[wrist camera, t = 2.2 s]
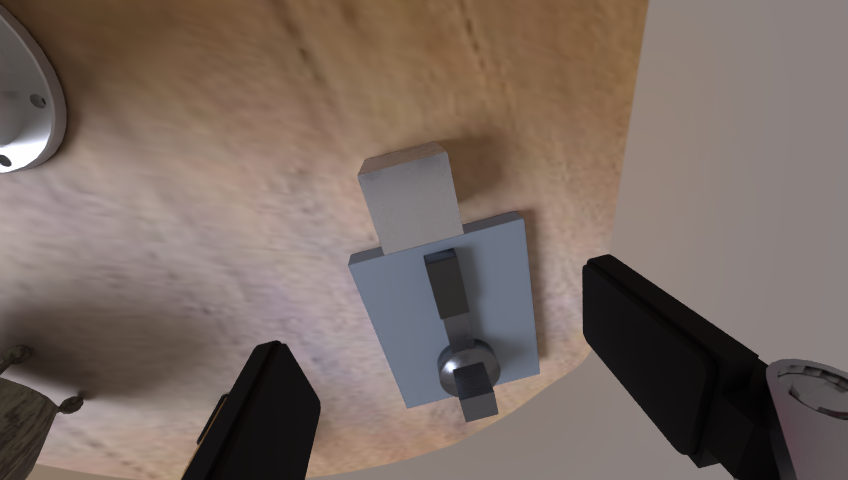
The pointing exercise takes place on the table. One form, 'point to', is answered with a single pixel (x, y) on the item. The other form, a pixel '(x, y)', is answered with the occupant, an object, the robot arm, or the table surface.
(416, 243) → the matte grey cube
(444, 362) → the ratchet
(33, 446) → the tabletop clock
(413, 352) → the slate board
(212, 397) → the table surface
